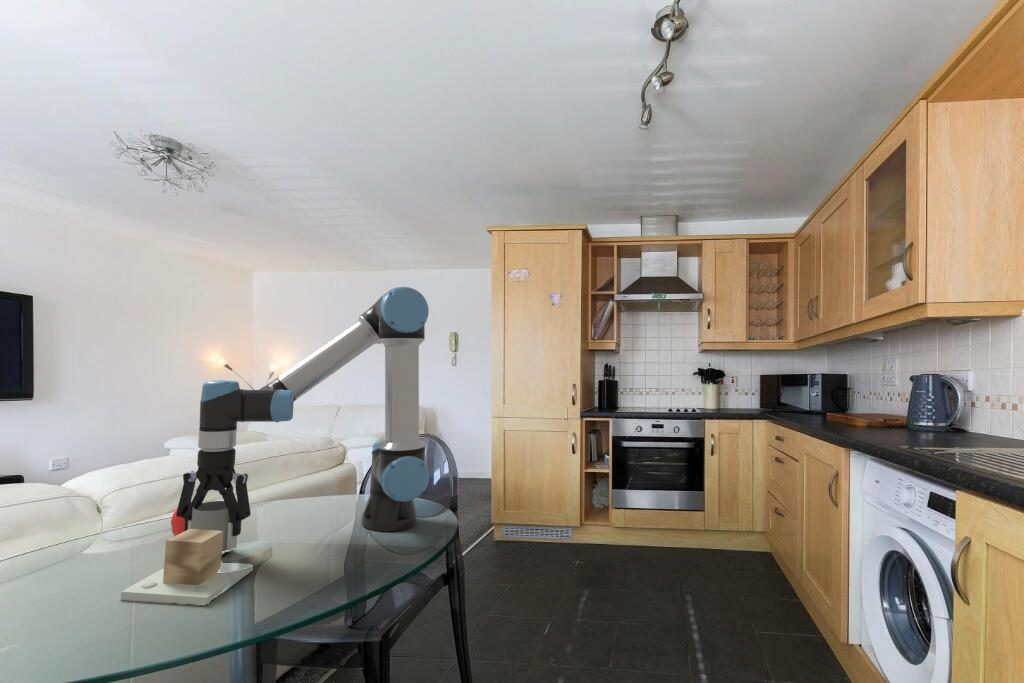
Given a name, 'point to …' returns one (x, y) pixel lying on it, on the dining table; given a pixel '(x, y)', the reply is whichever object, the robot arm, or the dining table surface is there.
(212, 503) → the cup
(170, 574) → the oak block
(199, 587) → the plate
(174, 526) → the apple
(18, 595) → the dining table surface
